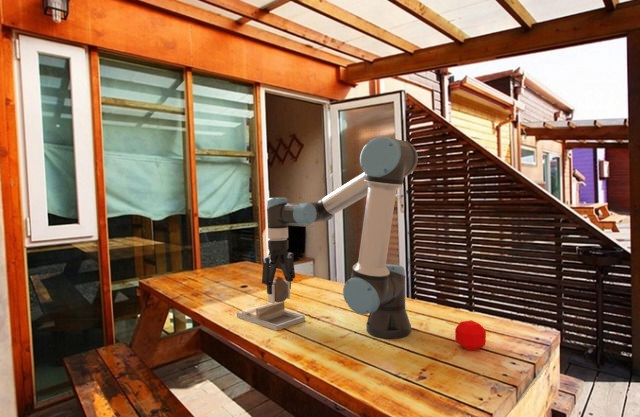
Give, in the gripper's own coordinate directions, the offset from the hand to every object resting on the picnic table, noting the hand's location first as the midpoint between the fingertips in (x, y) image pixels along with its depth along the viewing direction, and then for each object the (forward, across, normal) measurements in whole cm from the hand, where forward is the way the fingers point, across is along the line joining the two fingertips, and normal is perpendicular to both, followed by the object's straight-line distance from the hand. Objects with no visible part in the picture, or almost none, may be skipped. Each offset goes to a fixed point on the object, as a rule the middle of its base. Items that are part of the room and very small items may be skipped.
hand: (279, 300), depth 147 cm
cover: (+7, 0, -10) cm, 12 cm away
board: (+8, 0, -6) cm, 10 cm away
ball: (+8, -22, +63) cm, 67 cm away
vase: (0, 0, 0) cm, 0 cm away
